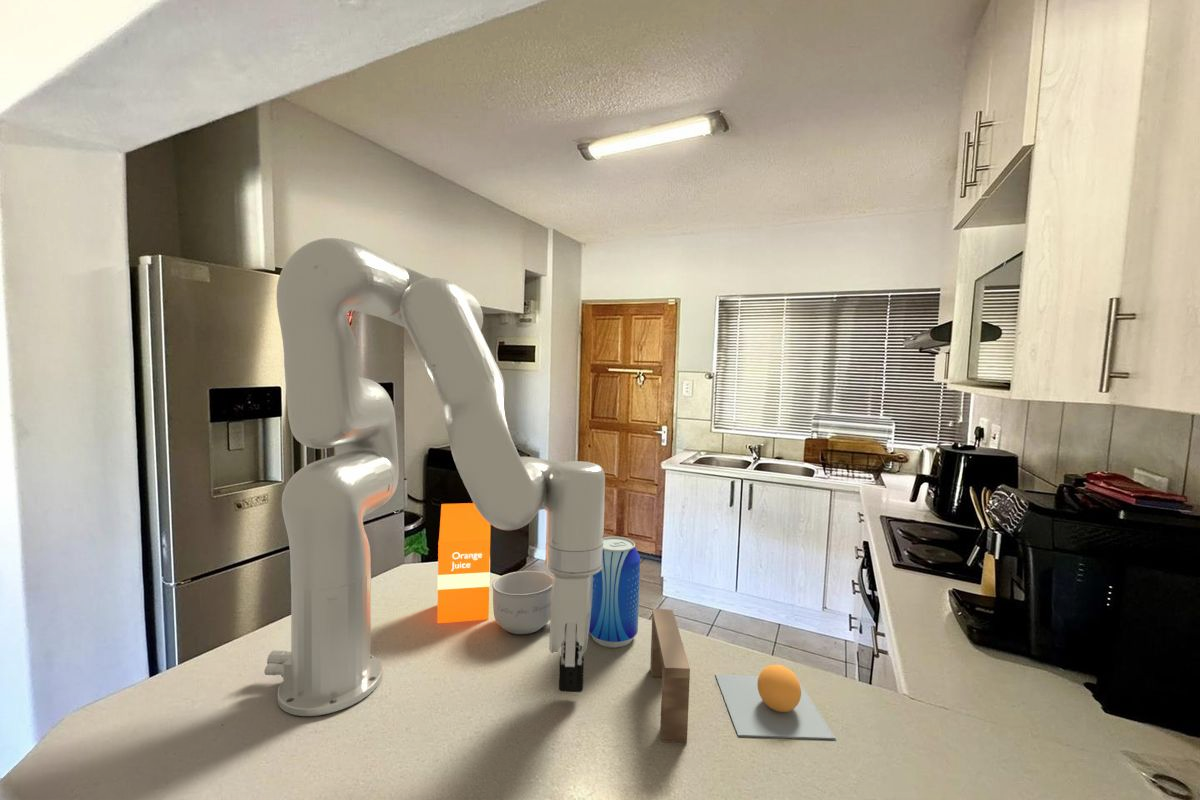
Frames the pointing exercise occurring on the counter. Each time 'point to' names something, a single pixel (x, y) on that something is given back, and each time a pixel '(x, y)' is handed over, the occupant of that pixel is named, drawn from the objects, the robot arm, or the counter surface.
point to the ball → (779, 688)
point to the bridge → (670, 675)
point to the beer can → (616, 594)
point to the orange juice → (463, 564)
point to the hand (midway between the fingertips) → (571, 687)
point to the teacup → (522, 601)
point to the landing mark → (769, 712)
